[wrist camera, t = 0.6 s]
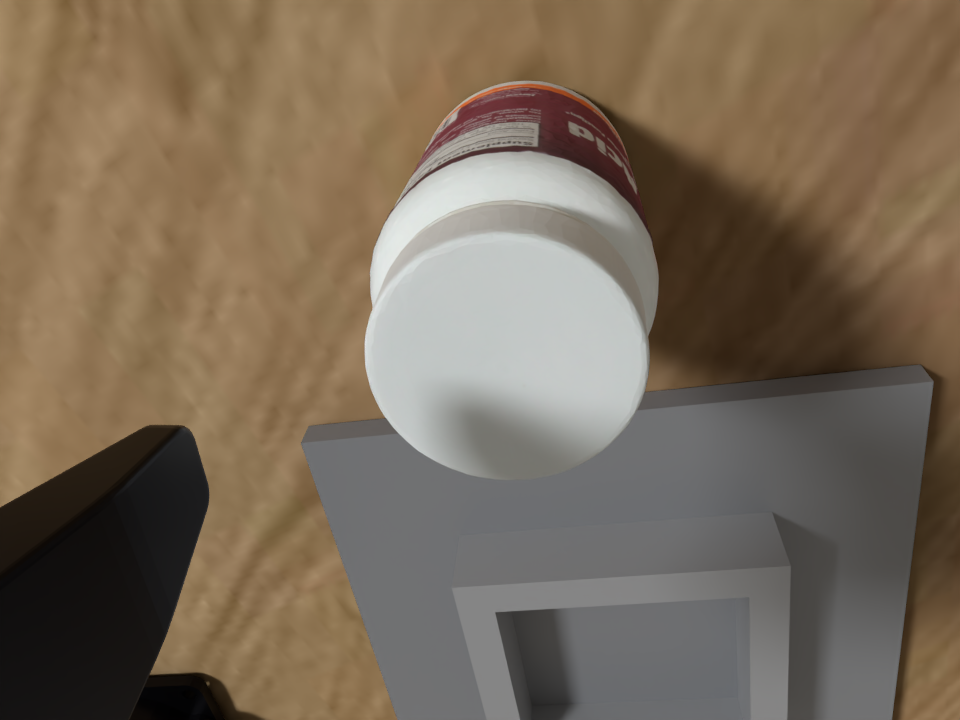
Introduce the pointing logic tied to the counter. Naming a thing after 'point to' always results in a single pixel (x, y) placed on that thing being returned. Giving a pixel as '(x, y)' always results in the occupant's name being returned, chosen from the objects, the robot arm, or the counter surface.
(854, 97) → the counter surface
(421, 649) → the bottle stand
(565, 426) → the pill bottle
